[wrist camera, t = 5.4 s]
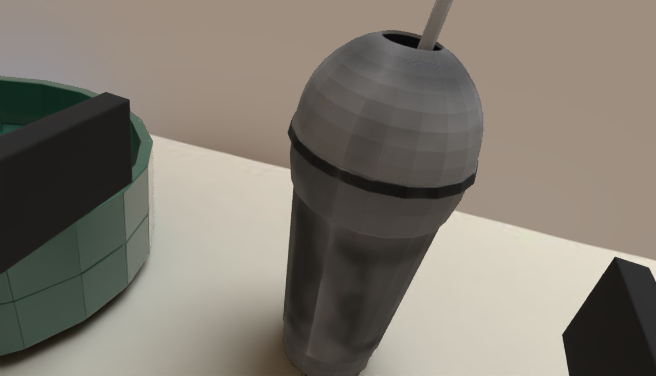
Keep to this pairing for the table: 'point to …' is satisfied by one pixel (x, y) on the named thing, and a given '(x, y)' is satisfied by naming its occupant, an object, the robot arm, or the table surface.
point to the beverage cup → (372, 187)
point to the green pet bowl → (74, 233)
